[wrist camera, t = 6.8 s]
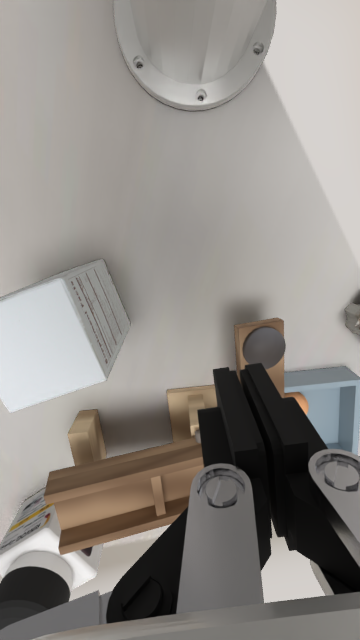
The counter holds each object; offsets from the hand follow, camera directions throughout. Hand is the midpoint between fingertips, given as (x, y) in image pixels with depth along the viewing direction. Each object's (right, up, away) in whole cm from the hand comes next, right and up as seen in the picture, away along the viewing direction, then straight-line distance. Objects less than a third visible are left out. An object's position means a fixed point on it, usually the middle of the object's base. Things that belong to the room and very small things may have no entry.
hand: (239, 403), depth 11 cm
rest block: (-12, -10, +25) cm, 29 cm away
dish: (+11, -7, +25) cm, 28 cm away
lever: (-3, -7, +17) cm, 18 cm away
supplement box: (-12, +5, +21) cm, 24 cm away
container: (-16, -20, +28) cm, 38 cm away
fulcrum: (0, -9, +25) cm, 26 cm away
